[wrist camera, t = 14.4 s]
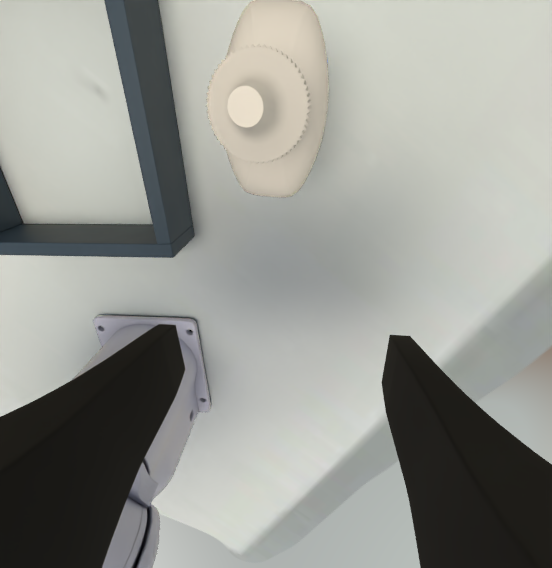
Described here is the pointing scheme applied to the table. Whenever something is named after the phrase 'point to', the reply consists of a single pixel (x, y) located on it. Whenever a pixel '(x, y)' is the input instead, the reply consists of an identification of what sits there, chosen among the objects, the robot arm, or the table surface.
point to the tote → (150, 147)
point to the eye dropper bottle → (272, 96)
